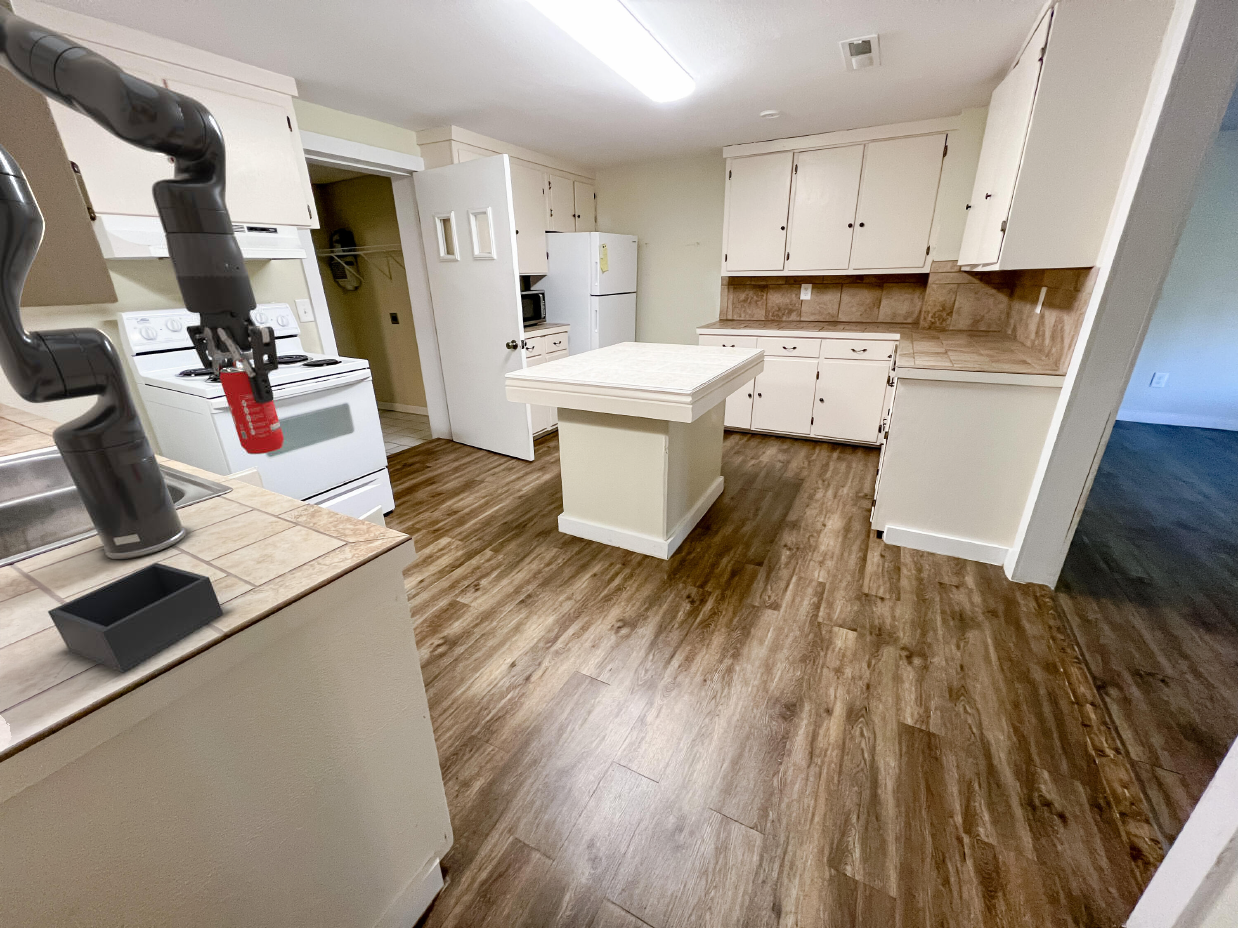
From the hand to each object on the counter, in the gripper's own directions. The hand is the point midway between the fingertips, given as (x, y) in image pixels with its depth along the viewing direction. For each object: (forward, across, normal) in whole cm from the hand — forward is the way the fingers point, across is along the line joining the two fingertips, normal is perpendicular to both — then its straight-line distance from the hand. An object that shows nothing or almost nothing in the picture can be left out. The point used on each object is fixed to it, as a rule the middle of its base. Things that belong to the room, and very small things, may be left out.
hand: (250, 400), depth 69 cm
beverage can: (+8, 0, 0) cm, 8 cm away
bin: (+23, -4, +21) cm, 31 cm away
